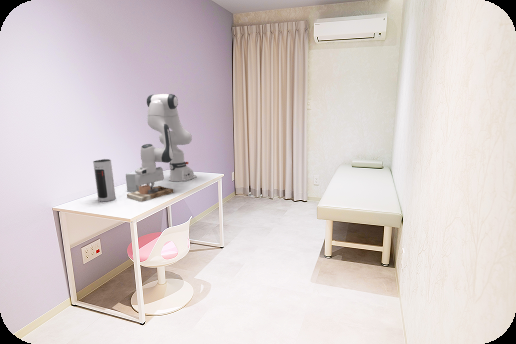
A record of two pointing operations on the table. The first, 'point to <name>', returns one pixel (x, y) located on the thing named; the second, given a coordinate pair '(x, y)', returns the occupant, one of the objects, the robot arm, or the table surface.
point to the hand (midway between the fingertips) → (150, 189)
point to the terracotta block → (144, 189)
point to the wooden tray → (150, 193)
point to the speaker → (104, 180)
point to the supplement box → (131, 182)
